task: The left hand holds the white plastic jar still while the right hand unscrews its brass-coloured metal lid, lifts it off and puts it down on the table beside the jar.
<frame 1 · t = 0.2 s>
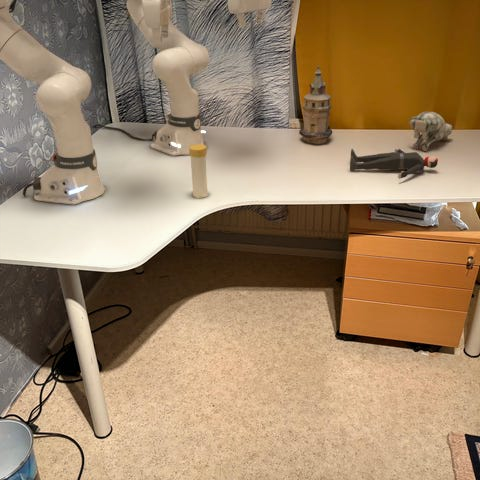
left hand: (161, 40, 152), 48 cm above the table, tool pointing down, fingers open, 8 cm apart
right hand: (250, 25, 175), 48 cm above the table, tool pointing down, fingers open, 8 cm apart
lid: (197, 148, 167), point 16 cm above the table, screwed on, not yet turned
miniature building: (315, 140, 221), on the table
jar: (200, 194, 175), on the table
toy: (392, 169, 192), on the table
figurine: (429, 145, 213), on the table
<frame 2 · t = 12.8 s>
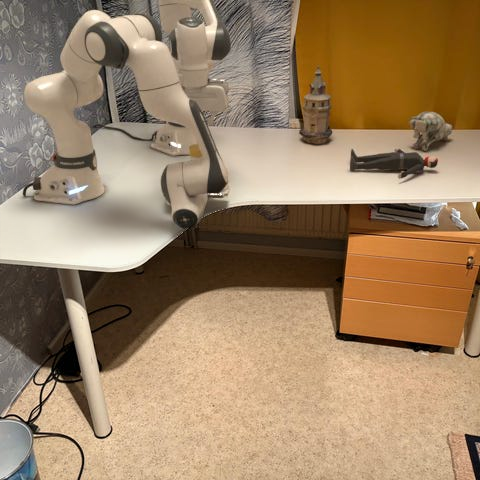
left hand: (199, 177, 173), 6 cm above the table, tool horizontal, fingers closed on jar, 5 cm apart
right hand: (196, 124, 164), 24 cm above the table, tool pointing down, fingers open, 8 cm apart
jar: (200, 194, 175), on the table, touching left hand
everything else where it was.
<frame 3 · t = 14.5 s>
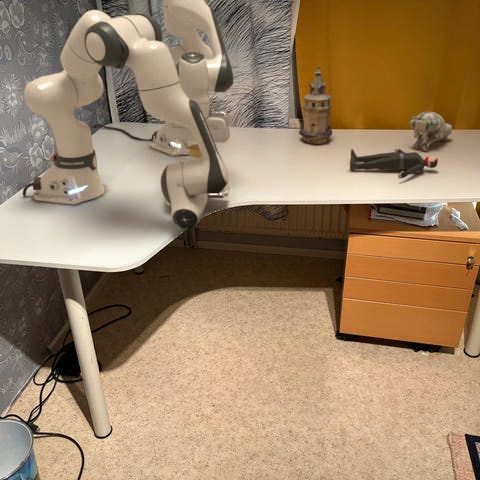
left hand: (199, 177, 173), 6 cm above the table, tool horizontal, fingers closed on jar, 5 cm apart
right hand: (198, 153, 168), 14 cm above the table, tool pointing down, fingers closed on lid, 5 cm apart
lid: (197, 148, 167), point 16 cm above the table, screwed on, not yet turned, touching right hand
jar: (200, 194, 175), on the table, touching left hand
everything else where it was.
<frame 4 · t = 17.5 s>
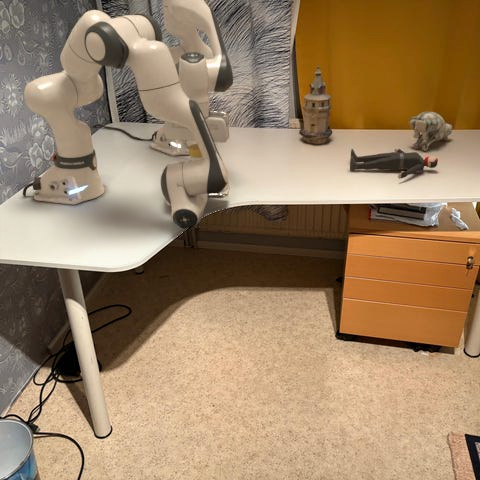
left hand: (199, 177, 173), 6 cm above the table, tool horizontal, fingers closed on jar, 5 cm apart
right hand: (197, 153, 168), 14 cm above the table, tool pointing down, fingers closed on lid, 5 cm apart
lid: (197, 147, 167), point 16 cm above the table, turned 64° so far, risen 0.1 cm, still on its thread, touching right hand
jar: (200, 194, 175), on the table, touching left hand
everything else where it was.
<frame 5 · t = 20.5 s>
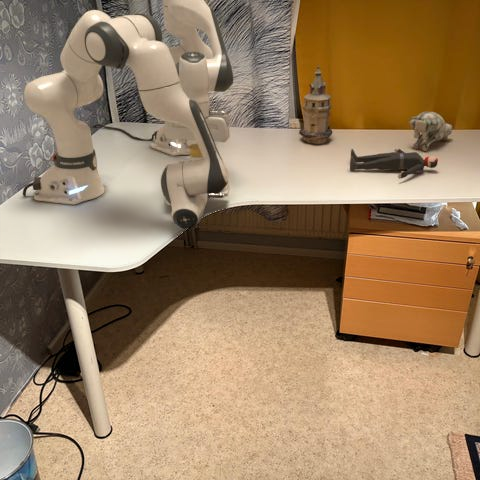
left hand: (199, 177, 173), 6 cm above the table, tool horizontal, fingers closed on jar, 5 cm apart
right hand: (198, 153, 168), 14 cm above the table, tool pointing down, fingers closed on lid, 5 cm apart
lid: (197, 147, 167), point 16 cm above the table, turned 128° so far, risen 0.2 cm, still on its thread, touching right hand
jar: (200, 194, 175), on the table, touching left hand
everything else where it was.
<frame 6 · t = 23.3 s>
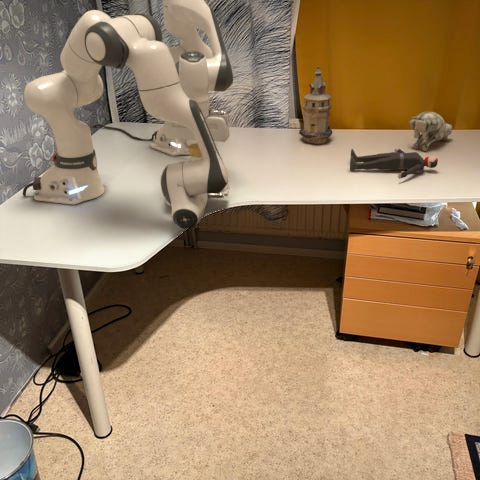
left hand: (199, 177, 173), 6 cm above the table, tool horizontal, fingers closed on jar, 5 cm apart
right hand: (197, 152, 168), 14 cm above the table, tool pointing down, fingers closed on lid, 5 cm apart
lid: (197, 147, 167), point 16 cm above the table, turned 192° so far, risen 0.3 cm, still on its thread, touching right hand
jar: (200, 194, 175), on the table, touching left hand
everything else where it was.
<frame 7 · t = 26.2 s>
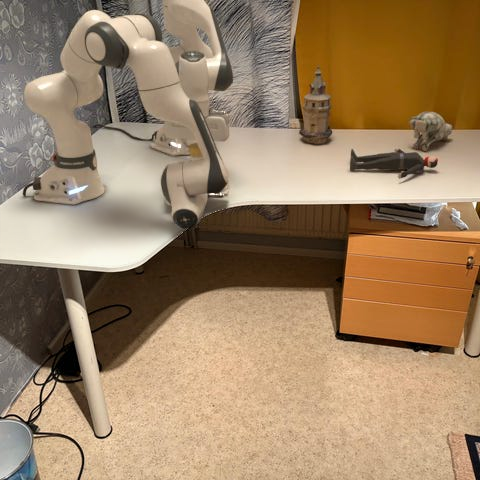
left hand: (199, 177, 173), 6 cm above the table, tool horizontal, fingers closed on jar, 5 cm apart
right hand: (197, 152, 168), 15 cm above the table, tool pointing down, fingers closed on lid, 5 cm apart
lid: (197, 146, 167), point 16 cm above the table, turned 256° so far, risen 0.4 cm, still on its thread, touching right hand
jar: (200, 194, 175), on the table, touching left hand
everything else where it was.
when the right hand's fingers open (2 cm above the table, at t = 36.0 s): lid drops 2 cm, point 2 cm above the table.
when the left hand's fingers open (6 cm above the table, at t = 37.1 s): jar stays where it is, on the table.
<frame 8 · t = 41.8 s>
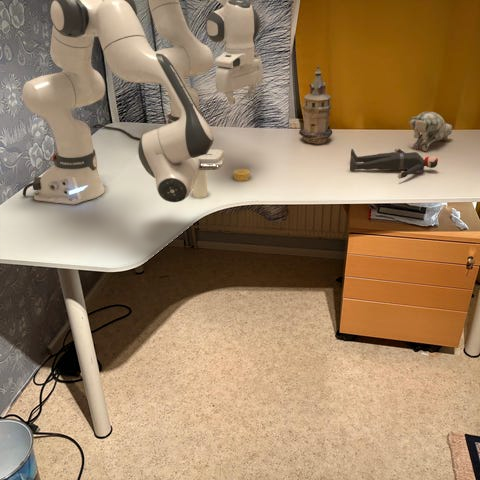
left hand: (191, 149, 155), 20 cm above the table, tool horizontal, fingers open, 8 cm apart
right hand: (240, 101, 174), 27 cm above the table, tool pointing down, fingers open, 8 cm apart
lid: (241, 172, 186), point 2 cm above the table, off its thread
jar: (200, 194, 175), on the table
everything else where it was.
at the end: lid came off its thread; lid point 2.0 cm above the table; the left hand is holding nothing; the right hand is holding nothing; jar tilted 0°; jar moved 0.1 cm from its start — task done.
